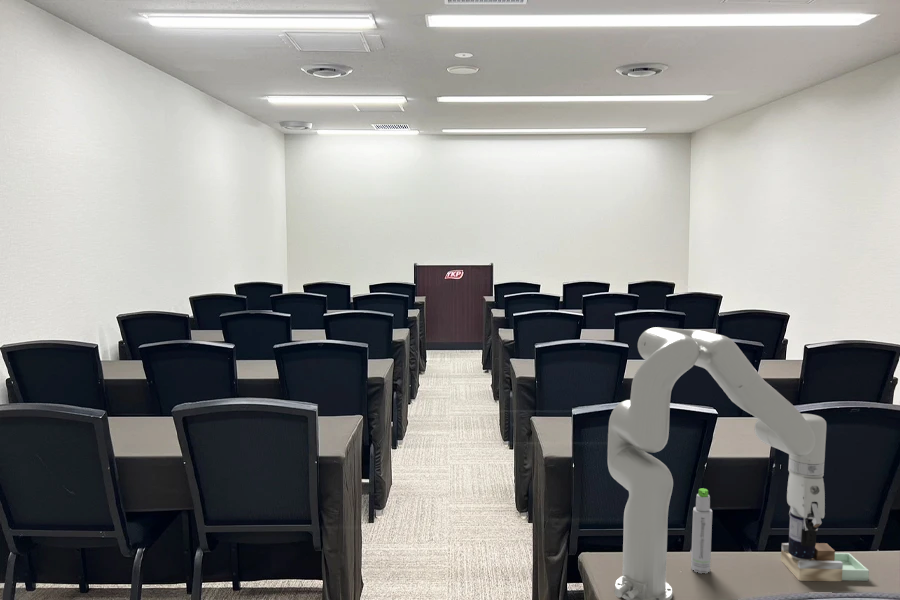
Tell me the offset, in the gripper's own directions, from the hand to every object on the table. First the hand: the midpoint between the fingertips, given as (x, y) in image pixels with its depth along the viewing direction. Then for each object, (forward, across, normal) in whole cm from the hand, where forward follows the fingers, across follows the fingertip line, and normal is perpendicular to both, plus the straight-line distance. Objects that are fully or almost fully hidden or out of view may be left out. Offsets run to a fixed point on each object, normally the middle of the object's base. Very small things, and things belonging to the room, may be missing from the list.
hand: (801, 538), depth 170 cm
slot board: (+8, 0, -2) cm, 8 cm away
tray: (+8, 0, -10) cm, 13 cm away
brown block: (+5, 0, -5) cm, 7 cm away
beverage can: (+5, 0, 0) cm, 5 cm away
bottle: (+8, 0, +24) cm, 25 cm away
